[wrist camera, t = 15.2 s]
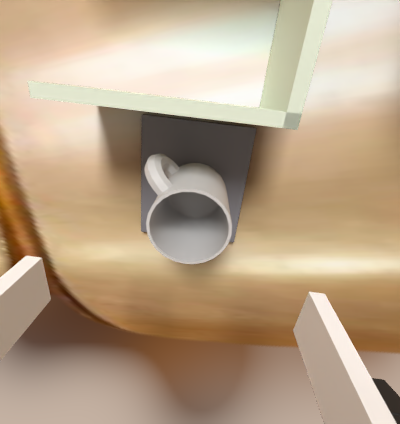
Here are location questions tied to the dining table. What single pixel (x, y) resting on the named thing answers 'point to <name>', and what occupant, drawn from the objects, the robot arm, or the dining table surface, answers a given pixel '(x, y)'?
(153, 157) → the cup
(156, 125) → the mat
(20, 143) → the dining table surface
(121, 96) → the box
